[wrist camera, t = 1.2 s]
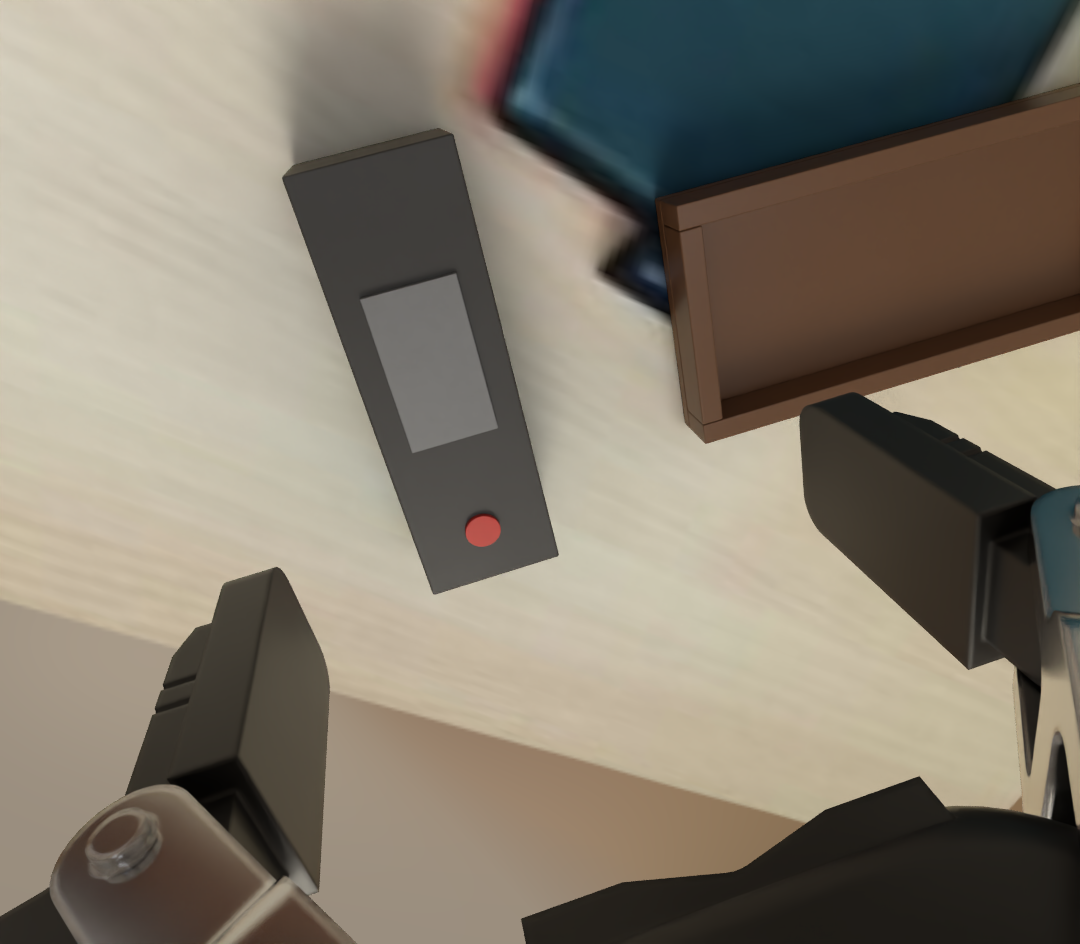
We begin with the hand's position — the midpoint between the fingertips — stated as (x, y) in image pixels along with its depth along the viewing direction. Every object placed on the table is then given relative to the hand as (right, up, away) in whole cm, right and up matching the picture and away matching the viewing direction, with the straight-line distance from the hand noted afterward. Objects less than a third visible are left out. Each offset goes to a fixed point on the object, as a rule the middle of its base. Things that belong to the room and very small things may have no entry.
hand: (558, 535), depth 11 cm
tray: (+13, +9, +17) cm, 23 cm away
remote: (-4, +5, +15) cm, 16 cm away
